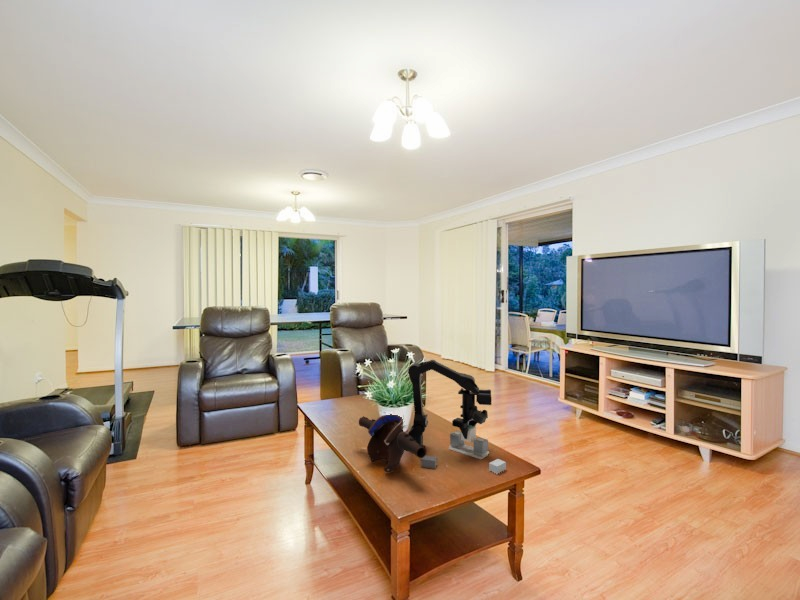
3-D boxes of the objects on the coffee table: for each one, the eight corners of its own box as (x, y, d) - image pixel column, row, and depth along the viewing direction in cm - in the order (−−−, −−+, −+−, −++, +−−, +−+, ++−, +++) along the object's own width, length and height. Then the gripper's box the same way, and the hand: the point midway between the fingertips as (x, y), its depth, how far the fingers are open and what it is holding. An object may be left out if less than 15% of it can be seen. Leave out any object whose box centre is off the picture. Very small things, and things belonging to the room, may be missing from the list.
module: (461, 439, 176) (461, 426, 176) (466, 437, 179) (466, 424, 179) (470, 442, 173) (470, 429, 172) (475, 439, 176) (475, 426, 176)
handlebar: (349, 451, 177) (348, 408, 177) (372, 444, 185) (372, 403, 184) (409, 491, 142) (409, 438, 141) (435, 481, 150) (435, 430, 149)
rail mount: (481, 459, 168) (481, 443, 168) (449, 448, 179) (449, 433, 179) (489, 454, 173) (489, 438, 173) (457, 444, 184) (457, 429, 184)
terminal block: (497, 474, 155) (497, 466, 154) (489, 471, 158) (489, 462, 158) (506, 470, 158) (506, 462, 158) (498, 466, 161) (498, 458, 161)
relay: (435, 469, 160) (435, 460, 160) (421, 467, 161) (421, 459, 161) (436, 464, 164) (436, 456, 163) (423, 463, 165) (423, 455, 165)
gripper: (473, 412, 163) (473, 448, 164) (494, 402, 177) (494, 435, 178) (451, 407, 170) (451, 441, 171) (473, 397, 184) (473, 429, 185)
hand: (468, 437), depth 176 cm, fingers closed on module, 4 cm apart
